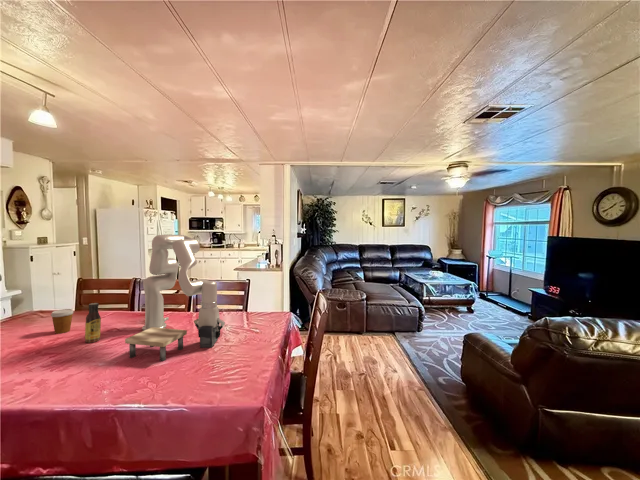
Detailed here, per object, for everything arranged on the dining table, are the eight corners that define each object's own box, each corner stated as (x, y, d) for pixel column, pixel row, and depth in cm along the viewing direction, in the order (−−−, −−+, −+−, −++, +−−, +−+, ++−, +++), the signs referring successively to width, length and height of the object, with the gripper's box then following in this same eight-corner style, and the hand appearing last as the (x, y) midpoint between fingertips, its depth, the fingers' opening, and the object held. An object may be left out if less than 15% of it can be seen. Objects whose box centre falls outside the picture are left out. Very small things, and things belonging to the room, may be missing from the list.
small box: (205, 339, 148) (206, 320, 148) (218, 339, 149) (218, 320, 149) (199, 348, 138) (199, 327, 137) (212, 347, 138) (212, 327, 138)
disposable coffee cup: (47, 333, 153) (47, 312, 153) (68, 327, 162) (68, 307, 161) (56, 336, 149) (56, 314, 149) (77, 330, 158) (77, 309, 158)
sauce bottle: (91, 344, 140) (91, 305, 139) (81, 342, 141) (81, 305, 141) (103, 339, 146) (103, 302, 146) (94, 338, 148) (94, 301, 147)
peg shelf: (152, 344, 141) (152, 327, 141) (186, 347, 138) (186, 330, 137) (125, 358, 125) (125, 339, 125) (163, 362, 122) (163, 342, 122)
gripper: (189, 305, 140) (189, 338, 141) (220, 307, 137) (220, 341, 138) (198, 302, 148) (198, 333, 148) (228, 304, 145) (228, 335, 145)
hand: (209, 337), depth 143 cm, fingers open, 9 cm apart
